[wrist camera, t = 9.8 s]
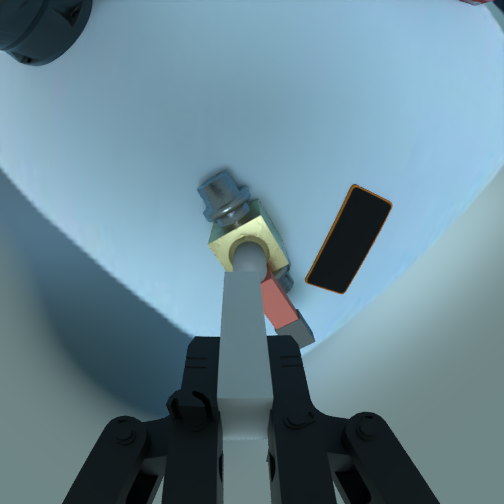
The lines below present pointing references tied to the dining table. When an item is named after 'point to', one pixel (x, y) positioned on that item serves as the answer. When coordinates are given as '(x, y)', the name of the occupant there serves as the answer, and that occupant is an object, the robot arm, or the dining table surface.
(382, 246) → the dining table surface
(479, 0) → the box
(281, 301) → the lever
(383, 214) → the smartphone
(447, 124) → the dining table surface
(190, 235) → the dining table surface
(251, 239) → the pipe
